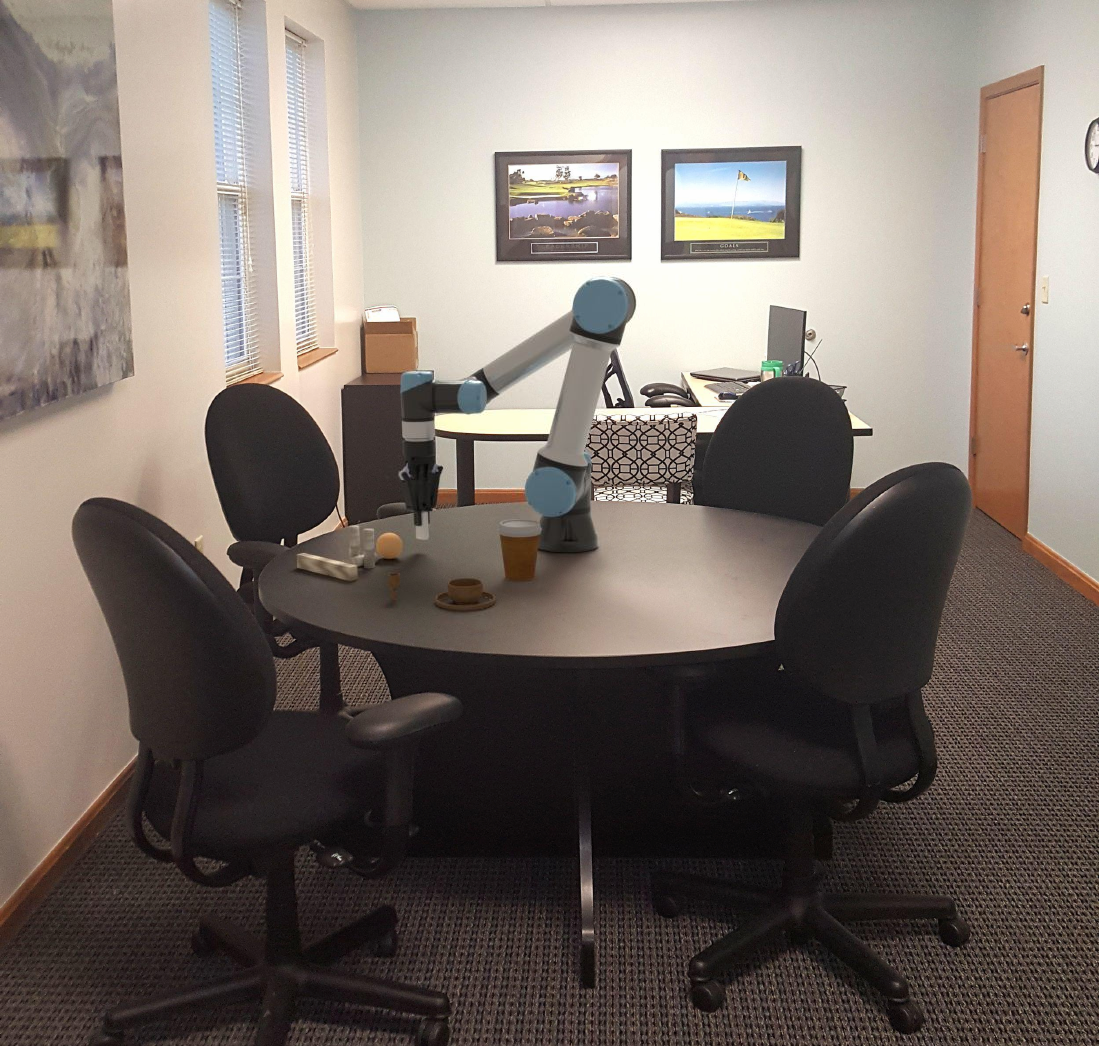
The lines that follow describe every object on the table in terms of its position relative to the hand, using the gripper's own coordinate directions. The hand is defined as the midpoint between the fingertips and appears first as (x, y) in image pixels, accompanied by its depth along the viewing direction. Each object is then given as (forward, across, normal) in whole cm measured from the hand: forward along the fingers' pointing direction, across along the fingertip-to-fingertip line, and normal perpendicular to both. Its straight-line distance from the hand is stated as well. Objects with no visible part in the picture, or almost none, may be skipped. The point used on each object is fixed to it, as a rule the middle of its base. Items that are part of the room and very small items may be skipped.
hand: (422, 538), depth 278 cm
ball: (0, +10, 0) cm, 10 cm away
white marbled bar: (+3, +28, 0) cm, 28 cm away
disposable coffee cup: (+4, +3, +34) cm, 34 cm away
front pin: (+2, +15, 0) cm, 15 cm away
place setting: (+4, +26, +35) cm, 43 cm away
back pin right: (+3, +18, -3) cm, 19 cm away
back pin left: (+3, +18, +2) cm, 19 cm away
